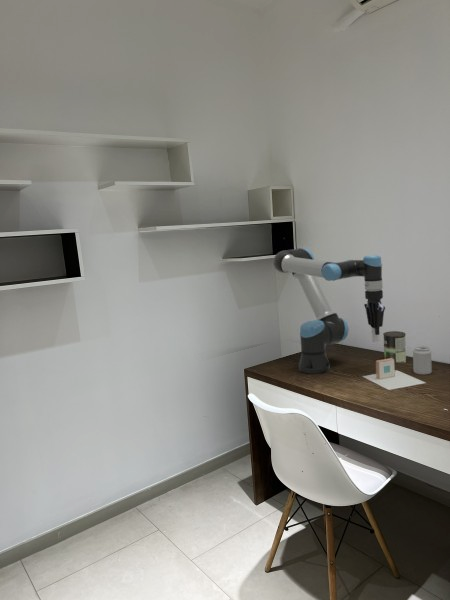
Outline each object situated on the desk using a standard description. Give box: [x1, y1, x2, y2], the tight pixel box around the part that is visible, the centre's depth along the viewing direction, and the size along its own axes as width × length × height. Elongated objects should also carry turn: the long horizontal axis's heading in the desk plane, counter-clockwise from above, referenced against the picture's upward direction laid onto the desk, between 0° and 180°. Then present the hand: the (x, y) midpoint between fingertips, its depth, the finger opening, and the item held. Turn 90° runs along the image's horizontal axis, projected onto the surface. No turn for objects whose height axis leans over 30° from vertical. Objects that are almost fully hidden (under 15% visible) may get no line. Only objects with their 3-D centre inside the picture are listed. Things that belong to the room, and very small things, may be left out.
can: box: [412, 345, 433, 375], centre depth 207 cm, size 8×8×12 cm
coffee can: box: [383, 330, 407, 364], centre depth 227 cm, size 10×10×14 cm
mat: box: [362, 369, 426, 391], centre depth 201 cm, size 20×18×1 cm
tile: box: [375, 358, 396, 379], centre depth 204 cm, size 2×8×8 cm, turn 105°
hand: (376, 341), depth 209 cm, fingers closed
